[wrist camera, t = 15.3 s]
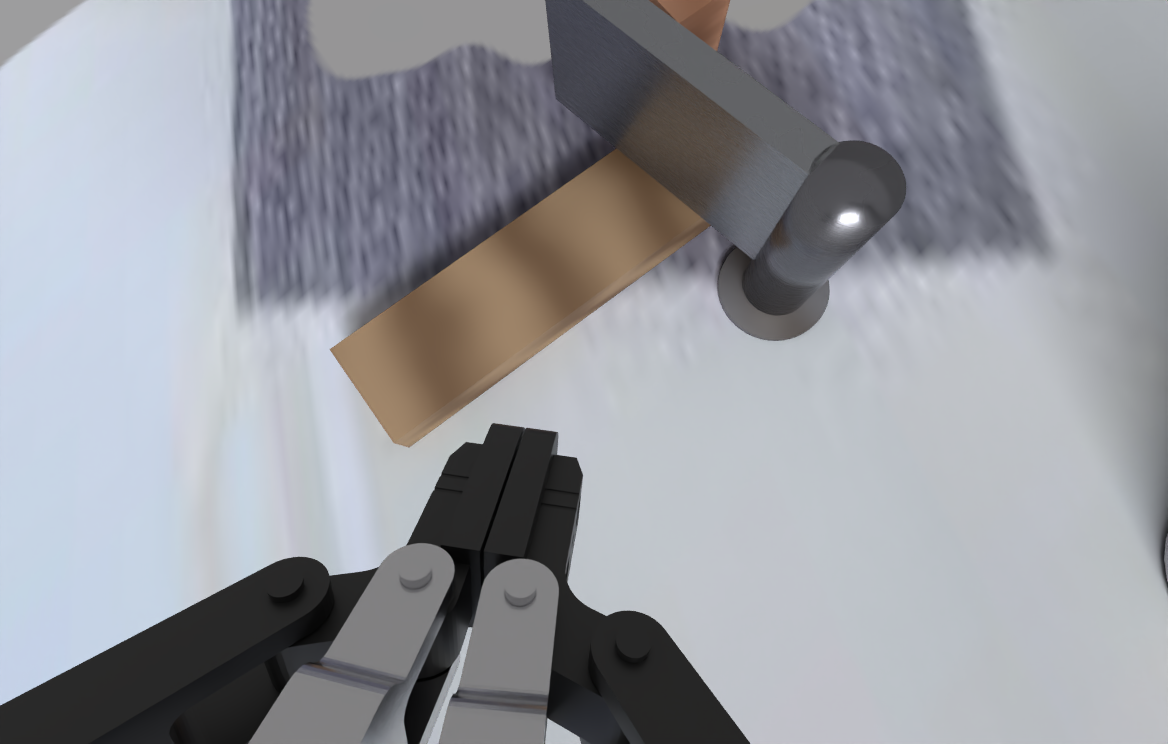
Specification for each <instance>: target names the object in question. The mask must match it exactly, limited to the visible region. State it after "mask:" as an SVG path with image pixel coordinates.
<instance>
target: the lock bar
mask: <svg viewBox="0 0 1168 744" xmlns="http://www.w3.org/2000/svg"><path fill="white" fill-rule="evenodd" d="M545 1H546V11H547V19H548V29H549V39H550V48H551V57H552V67H553V76H554V85H555V95H556V99H557V100H558V101H559V102H560V103H562V104H563V105H564V106H565V107H567V108H568V109H569V110H570V111H571V112H573V113H574V114H575V115H576V116H578V117H579V118H580V119H581V120H582V121H584V122H585V123H586V124H587V125H589V126H590V127H591V128H592V129H593V130H595V131H596V132H597V133H598V134H600V135H601V136H602V137H603V138H605V139H606V140H607V141H608V142H609V143H611V144H612V145H613V146H614V147H616V148H617V149H618V150H619V151H620V152H622V153H623V154H624V155H625V156H627V157H628V158H629V159H630V160H631V161H633V162H634V163H635V164H636V165H638V166H639V167H640V168H641V169H643V170H644V171H645V172H646V173H647V174H649V175H650V176H651V177H652V178H654V179H655V180H656V181H657V182H658V183H660V184H661V185H662V186H663V187H665V188H666V189H667V190H668V191H669V192H671V193H672V194H673V195H674V196H676V197H677V198H678V199H679V200H681V201H682V202H683V203H684V204H685V205H687V206H688V207H689V208H690V209H692V210H693V211H694V212H695V213H696V214H698V215H699V216H700V217H701V218H703V219H704V220H705V221H706V222H707V223H709V224H710V225H711V226H712V227H714V228H715V229H716V230H717V231H718V232H720V233H721V234H722V235H723V236H725V237H726V238H727V239H728V240H730V241H731V242H732V243H733V244H734V245H736V246H737V247H738V248H739V249H741V250H742V251H743V252H744V253H745V254H747V255H748V256H749V257H750V258H752V260H751V261H750V263H749V265H748V266H747V268H746V269H745V272H744V275H743V280H742V285H743V291H744V294H745V296H746V298H747V299H748V301H749V302H750V303H751V304H752V305H753V306H754V307H755V308H756V309H758V310H759V311H761V312H763V313H766V314H769V315H775V316H780V315H786V314H790V313H792V312H794V311H796V310H797V309H799V308H800V307H801V306H802V305H803V304H804V303H805V302H806V301H807V300H808V299H809V298H810V297H811V296H812V295H813V294H814V293H815V292H816V291H817V290H818V289H819V288H820V287H821V286H822V285H823V284H824V283H825V282H826V281H827V280H828V279H829V278H831V277H832V276H833V275H834V274H835V273H836V272H837V271H838V270H839V269H840V268H841V267H842V266H843V265H844V264H845V263H846V262H847V261H848V260H849V259H850V258H851V257H852V256H853V255H854V254H855V253H856V252H857V251H858V250H859V249H860V248H861V247H862V246H863V245H864V244H865V243H866V242H868V241H869V240H870V239H871V238H872V237H873V236H874V235H875V234H876V233H877V232H878V231H879V230H880V229H881V228H882V227H883V226H884V225H885V224H886V223H887V222H888V221H889V220H890V219H891V218H892V217H893V216H894V215H895V214H896V213H897V212H898V211H899V209H900V208H901V206H902V204H903V202H904V199H905V195H906V181H905V177H904V174H903V171H902V169H901V167H900V166H899V164H898V163H897V161H896V160H895V159H894V158H893V157H892V156H891V155H890V154H889V153H888V152H886V151H885V150H883V149H882V148H880V147H878V146H876V145H874V144H871V143H867V142H863V141H843V142H837V141H836V140H834V139H833V138H832V137H830V136H829V135H828V134H826V133H825V132H824V131H822V130H821V129H820V128H818V127H817V126H816V125H814V124H813V123H812V122H810V121H809V120H808V119H806V118H805V117H804V116H802V115H801V114H800V113H798V112H797V111H796V110H794V109H793V108H792V107H790V106H789V105H788V104H786V103H785V102H784V101H782V100H781V99H780V98H778V97H777V96H776V95H774V94H773V93H772V92H770V91H769V90H768V89H766V88H765V87H764V86H762V85H761V84H760V83H758V82H757V81H756V80H754V79H753V78H752V77H750V76H749V75H748V74H746V73H745V72H744V71H742V70H741V69H740V68H738V67H737V66H736V65H734V64H733V63H732V62H730V61H729V60H728V59H726V58H725V57H724V56H722V55H721V54H720V53H718V52H717V51H716V50H714V49H713V48H712V47H710V46H709V45H708V44H706V43H705V42H704V41H702V40H701V39H700V38H698V37H697V36H696V35H694V34H693V33H692V32H690V31H689V30H688V29H686V28H685V27H684V26H682V25H681V24H680V23H678V22H677V21H676V20H674V19H673V18H672V17H670V16H669V15H668V14H666V13H665V12H664V11H662V10H661V9H660V8H658V7H657V6H656V5H654V4H653V3H652V2H650V1H649V0H545Z"/></svg>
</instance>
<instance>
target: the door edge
mask: <svg viewBox="0 0 1168 744" xmlns="http://www.w3.org/2000/svg"><path fill="white" fill-rule="evenodd" d="M649 1H650V2H652V3H653V4H654V5H656V6H657V7H658V8H660V9H661V10H662V11H664V12H665V13H666V14H668V15H669V16H670V17H672V18H673V19H674V20H676V21H677V22H678V23H680V24H681V25H682V26H684V27H685V28H686V29H688V30H689V31H690V32H692V33H693V34H694V35H696V36H697V37H698V38H700V39H701V40H702V41H704V42H705V43H706V44H708V45H709V46H710V47H712V48H713V49H714V50H716V51H717V49H718V45H719V41H720V37H721V33H722V30H723V26H724V22H725V18H726V14H727V10H728V7H729V3H730V0H649ZM709 226H711V225H710V224H709V223H707V222H706V221H705V220H704V219H703V218H701V217H700V216H699V215H698V214H696V213H695V212H694V211H693V210H692V209H690V208H689V207H688V206H687V205H685V204H684V203H683V202H682V201H681V200H679V199H678V198H677V197H676V196H674V195H673V194H672V193H671V192H669V191H668V190H667V189H666V188H665V187H663V186H662V185H661V184H660V183H658V182H657V181H656V180H655V179H654V178H652V177H651V176H650V175H649V174H647V173H646V172H645V171H644V170H643V169H641V168H640V167H639V166H638V165H636V164H635V163H634V162H633V161H631V160H630V159H629V158H628V157H627V156H625V155H624V154H623V153H622V152H620V151H619V150H618V149H617V148H616V149H615V150H614V151H612V152H611V153H609V154H608V155H606V156H605V157H604V158H602V159H601V160H599V161H598V162H596V163H595V164H594V165H592V166H591V167H589V168H588V169H586V170H585V171H584V172H582V173H581V174H579V175H578V176H576V177H575V178H574V179H572V180H571V181H569V182H568V183H566V184H565V185H564V186H562V187H561V188H559V189H558V190H557V191H555V192H554V193H552V194H551V195H549V196H548V197H547V198H545V199H544V200H542V201H541V202H539V203H538V204H537V205H535V206H534V207H532V208H531V209H529V210H528V211H527V212H525V213H524V214H522V215H521V216H519V217H518V218H517V219H515V220H514V221H512V222H511V223H509V224H508V225H507V226H505V227H504V228H502V229H501V230H499V231H498V232H497V233H495V234H494V235H492V236H491V237H489V238H488V239H487V240H485V241H484V242H482V243H481V244H479V245H478V246H477V247H475V248H474V249H472V250H471V251H469V252H468V253H467V254H465V255H464V256H462V257H461V258H459V259H458V260H457V261H455V262H454V263H452V264H451V265H449V266H448V267H447V268H445V269H444V270H442V271H441V272H439V273H438V274H437V275H435V276H434V277H432V278H431V279H429V280H428V281H427V282H425V283H424V284H422V285H421V286H419V287H418V288H417V289H415V290H414V291H412V292H411V293H409V294H408V295H407V296H405V297H404V298H402V299H401V300H400V301H398V302H397V303H395V304H394V305H392V306H391V307H390V308H388V309H387V310H385V311H384V312H382V313H381V314H380V315H378V316H377V317H375V318H374V319H372V320H371V321H370V322H368V323H367V324H365V325H364V326H362V327H361V328H360V329H358V330H357V331H355V332H354V333H352V334H351V335H350V336H348V337H347V338H345V339H344V340H342V341H341V342H340V343H338V344H337V345H335V346H334V347H332V348H331V349H330V351H331V352H332V353H333V355H334V356H335V358H336V359H337V361H338V362H339V364H340V365H341V367H342V368H343V370H344V371H345V372H346V374H347V375H348V377H349V378H350V380H351V381H352V383H353V384H354V386H355V387H356V389H357V390H358V391H359V393H360V394H361V396H362V397H363V399H364V400H365V402H366V403H367V405H368V406H369V408H370V409H371V410H372V412H373V413H374V415H375V416H376V418H377V419H378V421H379V422H380V424H381V425H382V427H383V428H384V429H385V431H386V432H387V434H388V435H389V437H390V438H391V440H392V441H393V443H396V444H399V445H403V446H406V447H410V446H412V445H413V444H414V443H416V442H417V441H419V440H420V439H421V438H423V437H424V436H425V435H427V434H428V433H429V432H431V431H432V430H433V429H435V428H436V427H438V426H439V425H440V424H442V423H443V422H444V421H446V420H447V419H448V418H450V417H451V416H453V415H454V414H455V413H457V412H458V411H459V410H461V409H462V408H463V407H465V406H466V405H467V404H469V403H470V402H472V401H473V400H474V399H476V398H477V397H478V396H480V395H481V394H482V393H484V392H485V391H486V390H488V389H489V388H491V387H492V386H493V385H495V384H496V383H497V382H499V381H500V380H501V379H503V378H504V377H505V376H507V375H508V374H510V373H511V372H512V371H514V370H515V369H516V368H518V367H519V366H520V365H522V364H523V363H525V362H526V361H527V360H529V359H530V358H531V357H533V356H534V355H535V354H537V353H538V352H539V351H541V350H542V349H544V348H545V347H546V346H548V345H549V344H550V343H552V342H553V341H554V340H556V339H557V338H558V337H560V336H561V335H563V334H564V333H565V332H567V331H568V330H569V329H571V328H572V327H573V326H575V325H576V324H578V323H579V322H580V321H582V320H583V319H584V318H586V317H587V316H588V315H590V314H591V313H592V312H594V311H595V310H597V309H598V308H599V307H601V306H602V305H603V304H605V303H606V302H607V301H609V300H610V299H611V298H613V297H614V296H616V295H617V294H618V293H620V292H621V291H622V290H624V289H625V288H626V287H628V286H629V285H630V284H632V283H633V282H635V281H636V280H637V279H639V278H640V277H641V276H643V275H644V274H645V273H647V272H648V271H650V270H651V269H652V268H654V267H655V266H656V265H658V264H659V263H660V262H662V261H663V260H664V259H666V258H667V257H669V256H670V255H671V254H673V253H674V252H675V251H677V250H678V249H679V248H681V247H682V246H683V245H685V244H686V243H688V242H689V241H690V240H692V239H693V238H694V237H696V236H697V235H698V234H700V233H701V232H703V231H704V230H705V229H707V228H708V227H709ZM751 260H752V258H750V257H749V256H748V255H747V254H745V253H744V252H743V251H742V250H741V249H739V248H738V247H736V248H735V249H734V250H733V251H732V252H731V253H730V254H729V256H728V257H727V259H726V260H725V262H724V264H723V266H722V268H721V271H720V274H719V278H718V296H719V299H720V303H721V305H722V308H723V310H724V311H725V313H726V315H727V316H728V318H729V319H730V320H731V321H732V322H733V323H734V324H735V325H736V326H737V327H738V328H740V329H741V330H742V331H744V332H746V333H747V334H749V335H751V336H754V337H757V338H760V339H764V340H773V341H778V340H786V339H791V338H794V337H797V336H799V335H801V334H803V333H804V332H806V331H807V330H809V329H810V328H811V327H812V326H813V325H814V324H816V323H817V321H818V320H819V319H820V318H821V316H822V315H823V313H824V311H825V309H826V307H827V304H828V300H829V281H828V280H827V281H826V282H825V283H824V284H823V285H822V286H821V287H820V288H819V289H818V290H817V291H816V292H815V293H814V294H813V295H812V296H811V297H810V298H809V299H808V300H807V301H806V302H805V303H804V304H803V305H802V306H801V307H800V308H799V309H797V310H796V311H794V312H792V313H790V314H786V315H780V316H775V315H769V314H766V313H763V312H761V311H759V310H758V309H756V308H755V307H754V306H753V305H752V304H751V303H750V302H749V301H748V299H747V298H746V296H745V294H744V291H743V285H742V280H743V275H744V272H745V269H746V268H747V266H748V265H749V263H750V261H751Z"/></svg>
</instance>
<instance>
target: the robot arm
mask: <svg viewBox="0 0 1168 744" xmlns="http://www.w3.org/2000/svg"><path fill="white" fill-rule="evenodd" d="M557 447H558V432H553V431H546V430H539V429H532V428H526V429H525V428H524V427H517V426H509V425H502V424H495V423H493V424H492V425H491V427H490V429H489V431H488V434H487V436H486V438H485V441H484V443H483V444H476V443H469V442H466V443H465V444H463V445H462V446H461V447H460V448H459V449H458V450H456V451H455V452H454V453H453V454H452V455H450V457H449V459H448V461H447V463H446V465H445V467H444V469H443V471H442V475H441V477H439V480H438V482H437V484H436V486H435V490H434V491H433V492H432V494H431V496H430V498H429V500H428V502H427V504H426V506H425V508H424V511H423V513H422V515H421V517H420V519H419V521H418V523H417V525H416V527H415V529H414V531H413V533H412V535H411V537H410V539H409V542H408V543H407V545H406V546H404V547H402V548H399V549H398V550H396V551H394V552H393V553H391V554H390V555H389V556H388V557H387V558H386V559H385V560H384V561H383V562H382V563H381V565H380V566H379V567H378V568H375V569H372V570H368V571H363V572H355V573H348V574H340V575H332V576H329V573H328V571H327V569H326V567H325V566H324V565H323V564H322V563H320V562H319V561H317V560H315V559H312V558H307V557H292V558H287V559H283V560H280V561H277V562H275V563H273V564H271V565H269V566H267V567H265V568H263V569H261V570H259V571H257V572H256V573H254V574H252V575H250V576H248V577H246V578H244V579H242V580H240V581H238V582H236V583H234V584H233V585H231V586H229V587H227V588H225V589H223V590H221V591H219V592H217V593H215V594H213V595H211V596H210V597H208V598H206V599H204V600H202V601H200V602H198V603H196V604H194V605H192V606H190V607H188V608H187V609H185V610H183V611H181V612H179V613H177V614H175V615H173V616H171V617H169V618H167V619H165V620H164V621H162V622H160V623H158V624H156V625H154V626H152V627H150V628H148V629H146V630H144V631H142V632H141V633H139V634H137V635H135V636H133V637H131V638H129V639H127V640H125V641H123V642H121V643H119V644H118V645H116V646H114V647H112V648H110V649H108V650H106V651H104V652H102V653H100V654H98V655H96V656H95V657H93V658H91V659H89V660H87V661H85V662H83V663H81V664H79V665H77V666H75V667H73V668H71V669H70V670H68V671H66V672H64V673H62V674H60V675H58V676H56V677H54V678H52V679H50V680H48V681H47V682H45V683H43V684H41V685H39V686H37V687H35V688H33V689H31V690H29V691H27V692H25V693H24V694H22V695H20V696H18V697H16V698H14V699H12V700H10V701H8V702H6V703H4V704H2V705H1V706H0V744H427V743H428V741H429V738H430V736H431V733H432V731H433V728H434V726H435V723H436V721H437V718H438V716H439V713H440V711H441V708H442V706H443V703H444V701H445V698H446V696H447V693H448V691H449V688H450V686H451V683H452V681H453V678H454V676H455V673H456V671H457V668H458V665H459V662H460V651H461V648H462V645H463V642H464V639H465V635H466V632H467V629H468V627H473V628H472V633H471V637H470V641H469V646H468V650H467V654H466V659H465V663H464V667H463V671H462V676H461V680H460V684H459V687H458V690H457V692H456V694H453V695H452V697H451V699H450V702H449V705H448V708H447V712H446V716H445V720H444V724H443V728H442V732H441V736H440V740H439V744H545V738H546V728H547V718H548V719H550V720H552V721H553V722H555V723H557V724H559V725H560V726H562V727H564V728H565V729H567V730H569V731H570V732H572V733H574V734H575V735H577V736H579V737H580V741H581V744H750V742H749V741H748V740H747V738H746V737H745V736H744V734H743V733H742V732H741V730H740V729H739V728H738V726H737V725H736V724H735V722H734V721H733V720H732V718H731V717H730V716H729V714H728V713H727V712H726V710H725V709H724V708H723V706H722V705H721V704H720V702H719V701H718V700H717V698H716V697H715V696H714V694H713V693H712V692H711V690H710V689H709V688H708V686H707V685H706V684H705V682H704V681H703V680H702V678H701V677H700V676H699V674H698V673H697V672H696V670H695V669H694V668H693V666H692V665H691V664H690V662H689V661H688V660H687V658H686V657H685V656H684V654H683V653H682V652H681V650H680V649H679V648H678V646H677V645H676V644H675V642H674V641H673V640H672V638H671V637H670V636H669V634H668V633H667V632H666V630H665V629H664V628H663V627H662V626H661V625H660V624H659V623H658V622H657V621H656V620H654V619H653V618H651V617H650V616H648V615H645V614H643V613H640V612H636V611H620V612H615V613H613V614H610V615H608V616H605V615H603V614H601V613H599V612H597V611H595V610H593V609H591V608H589V607H588V606H586V605H584V604H583V603H582V602H581V601H579V600H578V599H577V598H576V597H575V595H574V594H573V593H572V591H571V590H570V588H569V586H568V583H567V581H568V576H569V570H570V564H571V558H572V553H573V548H574V541H575V536H576V531H577V525H578V518H579V508H580V499H581V489H582V479H583V474H582V471H581V468H580V466H579V463H578V460H577V458H574V457H567V456H560V455H557ZM1164 561H1165V568H1166V575H1167V581H1168V534H1167V537H1166V543H1165V556H1164Z"/></svg>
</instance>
